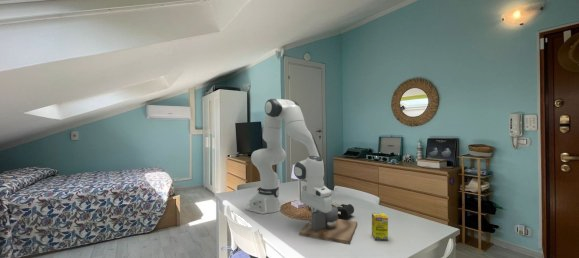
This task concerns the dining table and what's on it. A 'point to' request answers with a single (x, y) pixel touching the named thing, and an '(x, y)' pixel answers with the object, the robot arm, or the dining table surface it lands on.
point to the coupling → (323, 218)
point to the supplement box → (380, 226)
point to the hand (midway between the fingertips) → (315, 216)
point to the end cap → (345, 211)
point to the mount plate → (332, 231)
